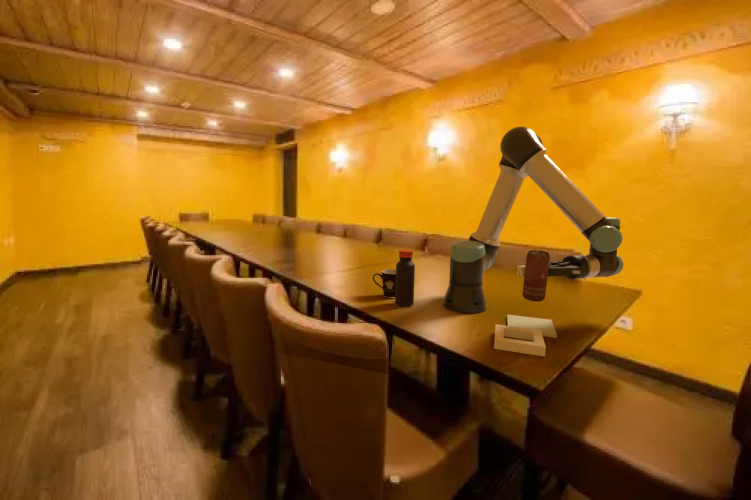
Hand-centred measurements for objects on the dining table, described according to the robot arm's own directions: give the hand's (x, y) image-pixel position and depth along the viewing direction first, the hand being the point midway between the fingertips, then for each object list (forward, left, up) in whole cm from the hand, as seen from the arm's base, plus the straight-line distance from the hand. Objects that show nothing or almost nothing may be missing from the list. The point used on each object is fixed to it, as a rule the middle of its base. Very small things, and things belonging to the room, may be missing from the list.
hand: (519, 270), depth 101 cm
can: (+4, +1, -8) cm, 9 cm away
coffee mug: (-47, +20, -18) cm, 54 cm away
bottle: (-38, +11, -18) cm, 43 cm away
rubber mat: (+4, +4, -18) cm, 19 cm away
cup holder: (0, -11, -18) cm, 21 cm away
